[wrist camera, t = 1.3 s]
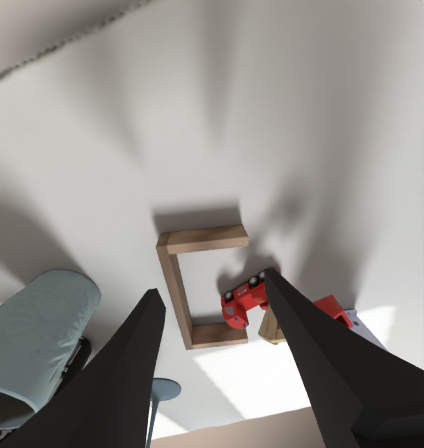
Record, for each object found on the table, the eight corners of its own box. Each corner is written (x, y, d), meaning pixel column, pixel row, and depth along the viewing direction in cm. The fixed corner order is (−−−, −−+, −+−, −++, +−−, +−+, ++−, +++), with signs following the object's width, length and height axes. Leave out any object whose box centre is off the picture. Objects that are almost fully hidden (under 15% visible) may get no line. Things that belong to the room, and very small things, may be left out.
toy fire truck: (217, 296, 27) (225, 371, 18) (294, 250, 23) (349, 315, 15) (229, 307, 28) (242, 382, 19) (304, 264, 25) (360, 331, 16)
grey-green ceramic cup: (94, 263, 22) (-4, 376, 12) (115, 313, 27) (58, 427, 16) (15, 267, 22) (-163, 388, 11) (49, 317, 26) (-54, 437, 16)
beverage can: (73, 357, 32) (8, 468, 21) (44, 339, 29) (-49, 457, 18) (101, 347, 31) (48, 457, 20) (74, 327, 28) (-6, 444, 17)
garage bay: (242, 224, 21) (248, 236, 18) (243, 325, 30) (248, 342, 27) (161, 233, 21) (155, 246, 18) (187, 331, 30) (186, 350, 27)
